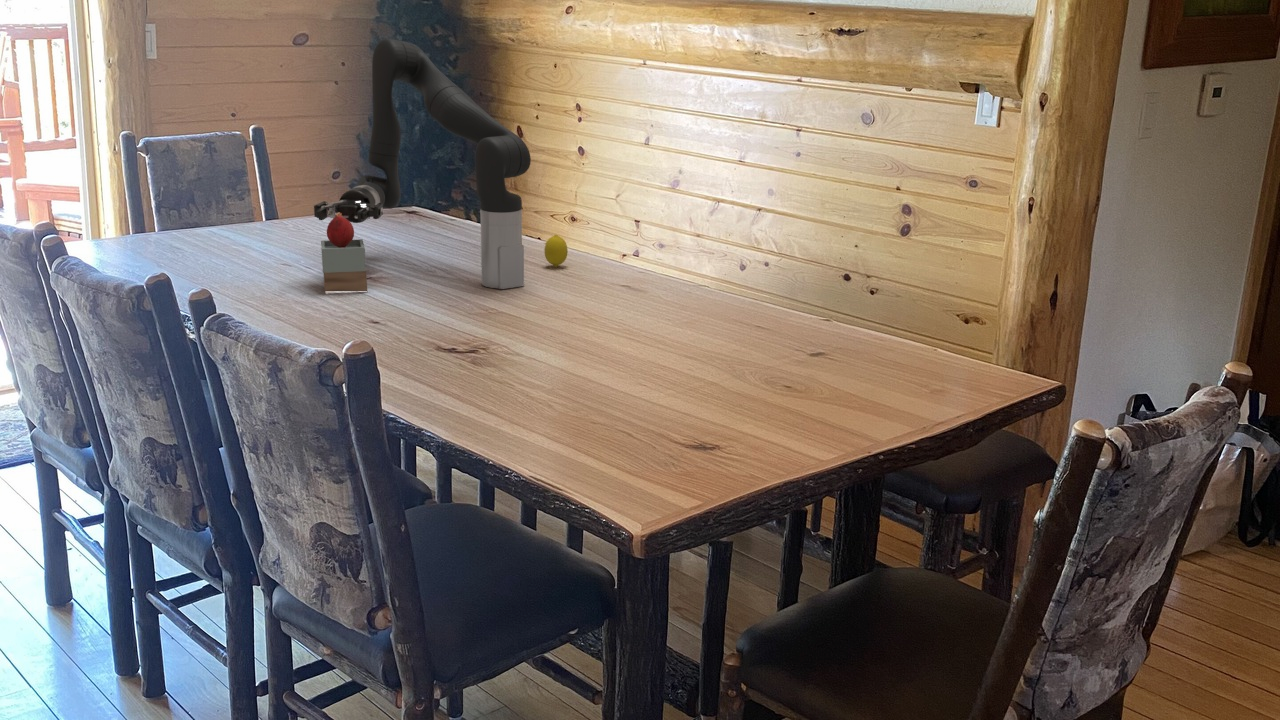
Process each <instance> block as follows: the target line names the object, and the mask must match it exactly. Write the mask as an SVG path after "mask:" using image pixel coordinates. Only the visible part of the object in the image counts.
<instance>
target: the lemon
mask: <svg viewBox="0 0 1280 720" xmlns="http://www.w3.org/2000/svg"><path fill="white" fill-rule="evenodd" d="M567 256H568V245H567V242H566V241H565V239H564V238H563V237H562V236H560V235H558V234H554V235H553V236H551V237H550V238H548V239H547V240H546V242H545V246H544V257H545V260H546V261H547V262H548V263H549V264H551V265H552V266H553V267H554V268H557V267H558V268H559V265H561V264H563V263H564V262H566V259H567Z"/></svg>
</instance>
